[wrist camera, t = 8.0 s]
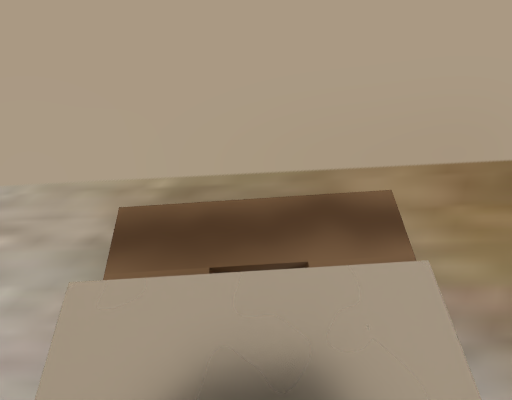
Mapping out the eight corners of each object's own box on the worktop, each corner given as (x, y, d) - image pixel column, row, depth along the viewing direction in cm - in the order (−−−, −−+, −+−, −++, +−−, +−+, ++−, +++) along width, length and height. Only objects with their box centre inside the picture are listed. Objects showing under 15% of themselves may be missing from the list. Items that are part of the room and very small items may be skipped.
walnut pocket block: (424, 432, 16) (492, 477, 11) (117, 450, 16) (53, 501, 11) (365, 219, 23) (391, 190, 18) (149, 233, 23) (119, 207, 18)
